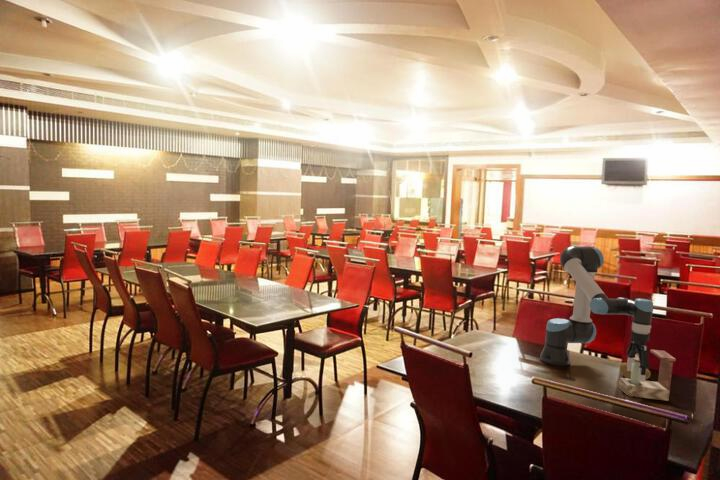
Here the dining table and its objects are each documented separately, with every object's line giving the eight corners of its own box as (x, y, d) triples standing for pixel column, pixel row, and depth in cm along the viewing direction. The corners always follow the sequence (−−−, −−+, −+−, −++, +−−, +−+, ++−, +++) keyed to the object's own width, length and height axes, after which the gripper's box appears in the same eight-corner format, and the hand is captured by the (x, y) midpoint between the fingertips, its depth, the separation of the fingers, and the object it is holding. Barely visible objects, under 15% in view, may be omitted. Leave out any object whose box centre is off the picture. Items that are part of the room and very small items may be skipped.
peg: (630, 393, 224) (634, 365, 223) (627, 390, 228) (630, 362, 227) (639, 394, 224) (642, 366, 222) (636, 391, 227) (639, 363, 226)
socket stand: (626, 396, 221) (631, 354, 219) (617, 386, 232) (622, 346, 231) (670, 401, 217) (675, 358, 216) (659, 391, 229) (664, 350, 227)
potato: (647, 386, 235) (649, 371, 234) (616, 378, 244) (618, 363, 243) (651, 381, 242) (653, 366, 241) (621, 374, 251) (622, 359, 251)
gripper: (661, 340, 210) (655, 386, 212) (638, 326, 235) (633, 367, 237) (642, 338, 211) (637, 384, 213) (622, 324, 236) (617, 366, 238)
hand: (635, 376), depth 225 cm, fingers open, 13 cm apart
